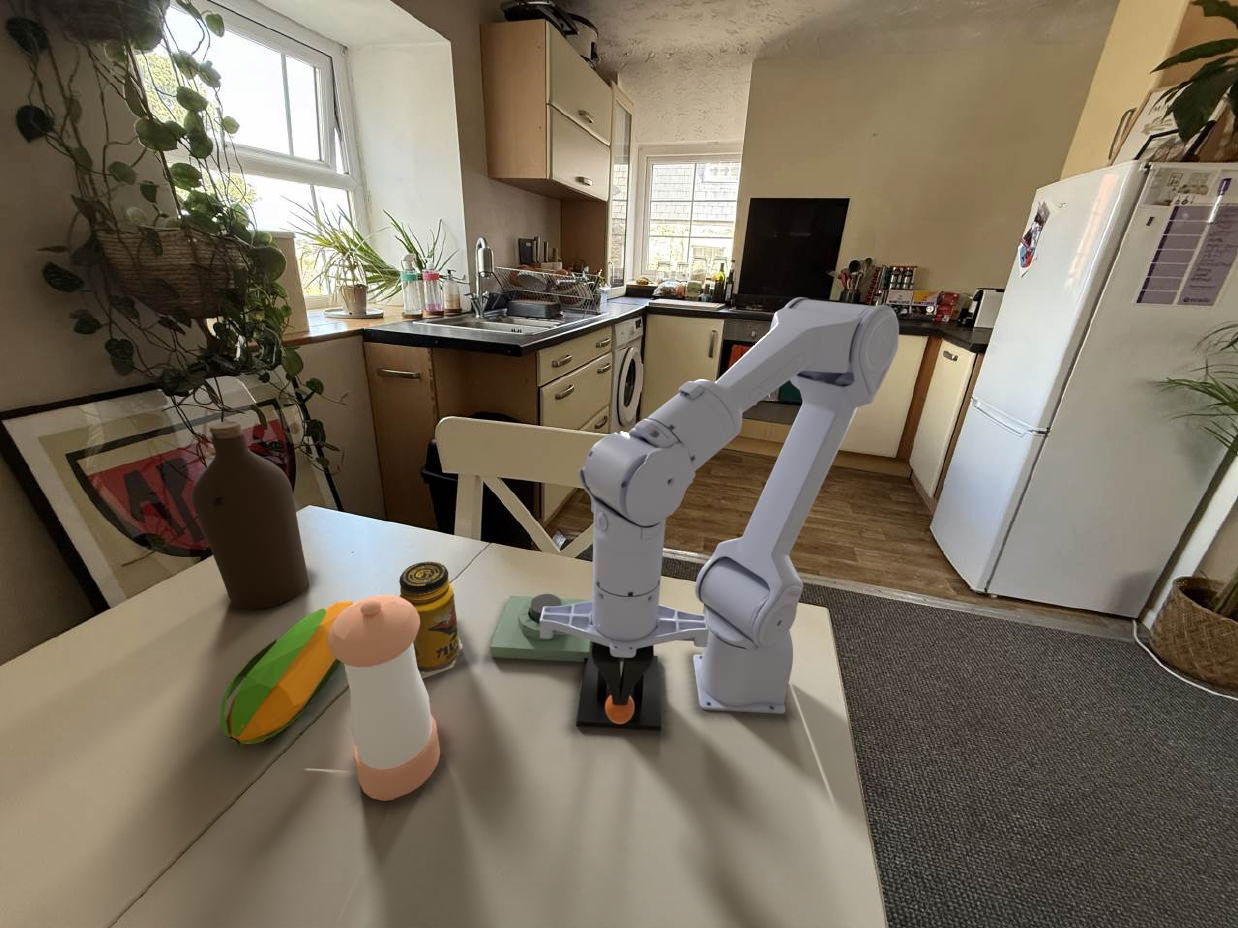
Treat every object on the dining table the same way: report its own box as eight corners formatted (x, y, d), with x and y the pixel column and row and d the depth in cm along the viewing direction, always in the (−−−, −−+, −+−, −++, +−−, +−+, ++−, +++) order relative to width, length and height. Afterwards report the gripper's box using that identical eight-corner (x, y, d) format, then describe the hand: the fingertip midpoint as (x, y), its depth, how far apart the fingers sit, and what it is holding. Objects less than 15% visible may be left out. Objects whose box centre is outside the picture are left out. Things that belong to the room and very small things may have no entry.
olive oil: (318, 595, 71) (279, 429, 61) (226, 624, 65) (166, 445, 55) (308, 560, 78) (271, 408, 69) (224, 583, 72) (171, 420, 63)
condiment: (470, 661, 61) (461, 579, 56) (396, 690, 56) (380, 604, 52) (452, 625, 66) (443, 548, 61) (384, 649, 62) (369, 568, 57)
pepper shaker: (381, 728, 52) (350, 574, 44) (451, 732, 51) (431, 578, 44) (343, 798, 45) (298, 631, 37) (423, 803, 45) (394, 636, 37)
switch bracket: (660, 732, 52) (666, 676, 49) (575, 727, 52) (576, 672, 49) (657, 661, 62) (661, 611, 59) (585, 657, 62) (585, 607, 59)
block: (594, 610, 70) (595, 590, 69) (588, 664, 61) (588, 641, 59) (510, 606, 70) (509, 585, 69) (491, 658, 61) (489, 636, 60)
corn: (182, 702, 45) (315, 572, 63) (201, 760, 47) (322, 620, 66) (265, 711, 45) (373, 578, 63) (278, 768, 48) (378, 625, 66)
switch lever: (633, 731, 46) (635, 707, 45) (603, 729, 46) (604, 705, 45) (633, 654, 56) (635, 633, 56) (609, 653, 56) (610, 632, 56)
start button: (563, 604, 66) (563, 594, 65) (559, 625, 62) (559, 614, 62) (533, 603, 66) (533, 592, 66) (527, 623, 62) (527, 612, 62)
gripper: (530, 601, 38) (535, 728, 43) (721, 611, 38) (702, 738, 43) (546, 551, 44) (548, 667, 50) (708, 559, 44) (693, 675, 49)
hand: (620, 696), depth 47 cm, fingers closed
